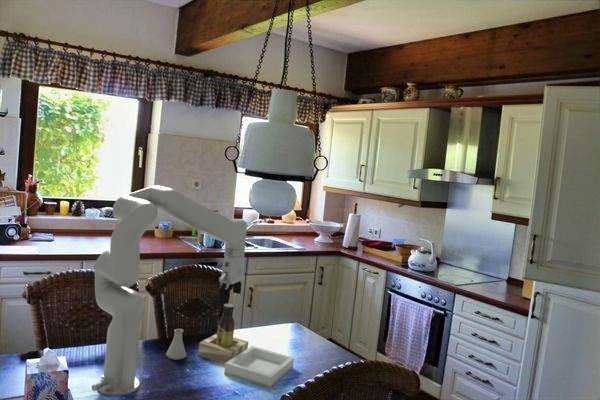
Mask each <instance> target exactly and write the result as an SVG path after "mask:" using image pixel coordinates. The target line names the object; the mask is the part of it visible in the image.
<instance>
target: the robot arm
mask: <svg viewBox="0 0 600 400" xmlns="http://www.w3.org/2000/svg"><path fill="white" fill-rule="evenodd" d="M159 213H163V214H164V215H167V216H169V217H171V218H172V219H175V220H176V221H178V222H180V223H182V224H184V225H185V226H187V227H190V228H192V229H195V230H198V231H201V232H205V233H206V235H207V236H208V237H209V238H210V239H213V240H216V241H220V242H224V253H223V254H224V255H223V256H224V258H223V262H222V263H223V264H222V267H221V274H220V275H221V276H220V277H219V278H218V282H219V284H218V285H219V289H220V290H219V298H220V299H222V300H225V301H227V300H228V297H229V286H230V285H233V288H232V292H233V293H234V294H238V295H240V294H241V293H242V292H241V291H242V284H243V281H244V279H245V267H246V265H245V263H246V261H245V260H246V259H245V252H246V241H247V232H248V231H247V230H248V222H246V221H245V220H243V219H240V218H239V219H238V218H233V219H230V218H229V217H227V216H225V215H223V214H221V213H220V212H216V211H214V210H212V209H211V208H209V207H207V206H205V205H203V204H201V203H199V202H197V201H196V200H194V199H192V198H190V197H189V196H188V195H185V193H182V192H181V191H179V190H177V189H174V188H171V187H167V186H163V185H153V186H149V187H145V188H142V189H139V190H136V191H134V192H130V193H127V194H124V195H122V196H120V197H119V198H117V199H116V200H115V202H114V204H113V206H112V214H113V215H114V217H115V218H116V219H117V220H118V221H119V222H118V224H117V225H116V226H115V228H114V229H113V231H112V233H111V236H110V242H109V243H110V246H109V247H110V248H109V249H108V250H105V251H104V252H102V253H101V254H100V255H99V256H98V258H97V259H96V262H95V265H94V292H95V293H94V295H95V301H96V304H97V306H98V307H99V309H102V310H103V311H105V312H106V313H107V314H109V315H111V317H112V319H111V322H110V324H109V325H108V327H107V333H106V343H105V344H106V346H105V353H104V354H105V356H104V367H103V375H100V376H101V378H100V379H99V380H98V381H97V382H96V383H93V384H92V385H91V389H92V392H96V391H99V392H100V393H102V394H104V395H106V396H115V397H116V396H119V397H120V396H126V395H130V394H131V393H135V392H136V391H137V390H138V389H139V388H140V384H141V383H140V380H139V379H138V378H137V377H136V371H137V370H136V369H137V361H138V350H139V339H140V331H141V324H142V323H141V322H142V319H143V317H144V313H145V307H146V302H145V300H144V297H143V296H142V295H141V294H140V293H139V292H138V291H136V290H135V289H132V288H130V287H132V286H134V285H135V284H137V282H138V281H139V278H140V276H141V275H140V273H141V265H140V259H141V258H140V254H141V253H140V249H141V248H140V246H141V245H140V244H141V239H142V237H143V235H144V234H145V232H146V231H147V230H149V228H150V227H151V226H152V225H153V224H154V223H155V222H156V220H157V217H158V214H159Z"/></svg>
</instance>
